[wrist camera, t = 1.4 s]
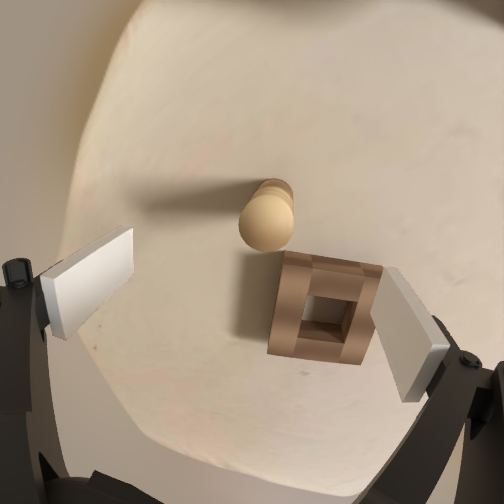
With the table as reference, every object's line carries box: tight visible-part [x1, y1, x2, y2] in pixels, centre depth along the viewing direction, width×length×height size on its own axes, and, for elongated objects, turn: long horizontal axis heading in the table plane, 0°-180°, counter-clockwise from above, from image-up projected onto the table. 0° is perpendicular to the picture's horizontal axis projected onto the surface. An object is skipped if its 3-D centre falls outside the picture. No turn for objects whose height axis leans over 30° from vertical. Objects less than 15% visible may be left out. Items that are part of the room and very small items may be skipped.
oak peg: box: [239, 179, 294, 252], centre depth 28 cm, size 4×4×12 cm
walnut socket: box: [267, 251, 384, 365], centre depth 36 cm, size 12×12×4 cm
